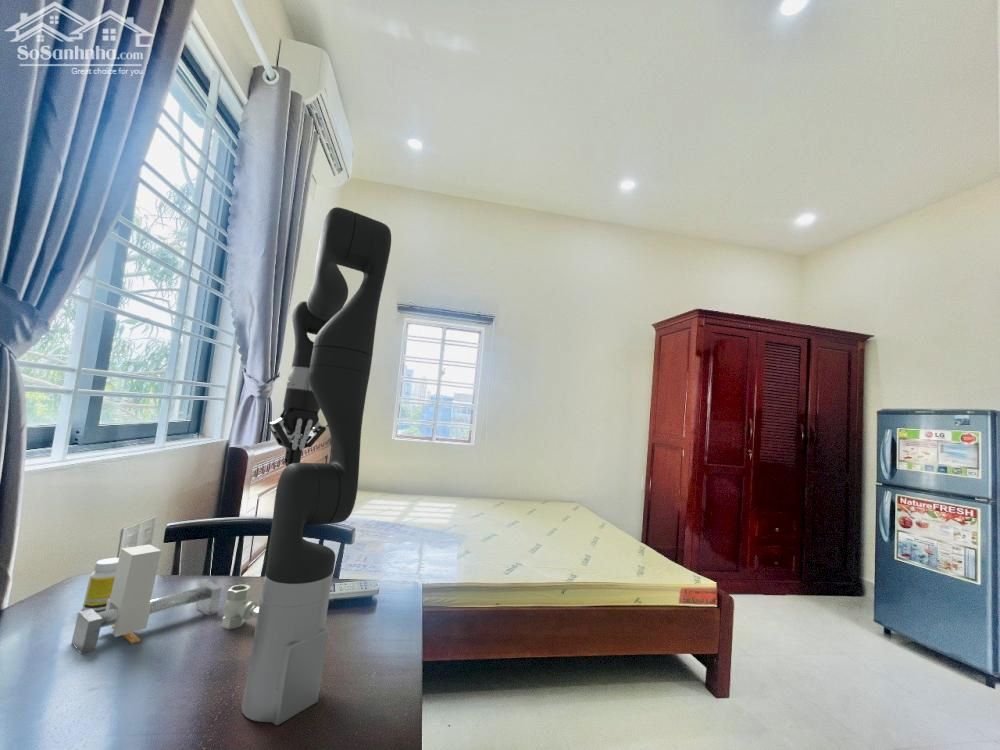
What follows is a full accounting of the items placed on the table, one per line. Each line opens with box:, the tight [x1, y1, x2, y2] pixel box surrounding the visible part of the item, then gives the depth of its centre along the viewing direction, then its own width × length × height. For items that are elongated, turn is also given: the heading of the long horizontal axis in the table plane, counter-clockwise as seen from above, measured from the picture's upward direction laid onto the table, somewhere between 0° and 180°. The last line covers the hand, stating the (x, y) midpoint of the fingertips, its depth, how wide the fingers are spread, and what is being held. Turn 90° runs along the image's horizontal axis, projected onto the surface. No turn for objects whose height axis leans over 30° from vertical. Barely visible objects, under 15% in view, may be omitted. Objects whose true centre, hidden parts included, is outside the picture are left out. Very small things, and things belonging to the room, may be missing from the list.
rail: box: [71, 580, 222, 655], centre depth 71 cm, size 19×9×5 cm, turn 150°
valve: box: [220, 584, 259, 630], centre depth 74 cm, size 7×7×12 cm
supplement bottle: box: [82, 557, 119, 612], centre depth 77 cm, size 5×5×8 cm
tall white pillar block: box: [104, 544, 162, 638], centre depth 69 cm, size 4×6×13 cm, turn 60°
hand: (291, 466), depth 86 cm, fingers closed
